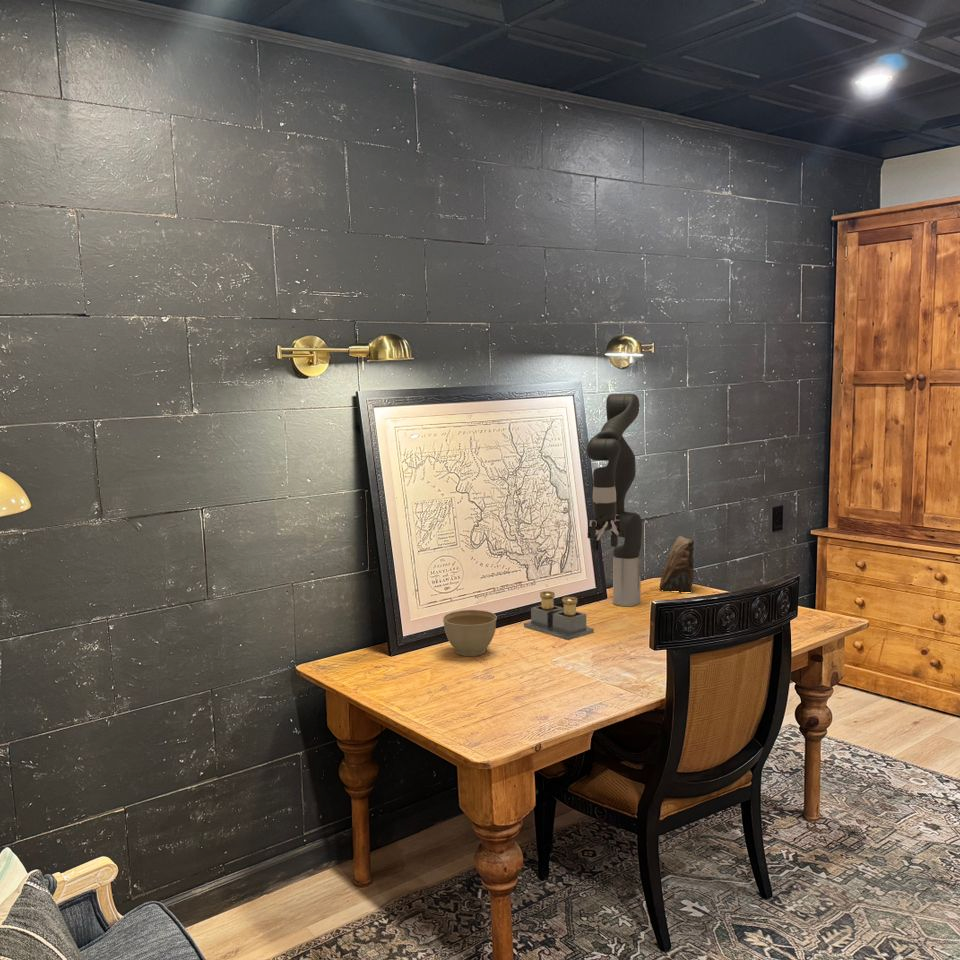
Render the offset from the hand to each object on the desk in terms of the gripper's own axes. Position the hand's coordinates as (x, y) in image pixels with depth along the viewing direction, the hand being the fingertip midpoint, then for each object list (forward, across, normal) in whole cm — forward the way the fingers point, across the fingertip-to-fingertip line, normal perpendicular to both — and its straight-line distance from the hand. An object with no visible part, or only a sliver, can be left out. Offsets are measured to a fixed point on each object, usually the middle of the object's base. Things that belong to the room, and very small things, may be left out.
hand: (605, 548), depth 297 cm
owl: (+28, -54, -13) cm, 62 cm away
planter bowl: (+24, +52, -9) cm, 58 cm away
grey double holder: (+25, +16, -7) cm, 30 cm away
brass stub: (+24, +15, -2) cm, 29 cm away
